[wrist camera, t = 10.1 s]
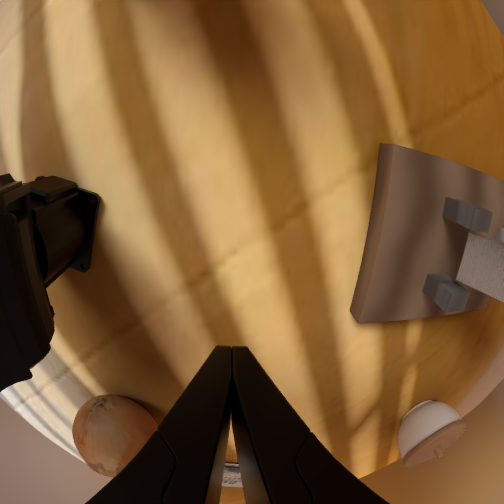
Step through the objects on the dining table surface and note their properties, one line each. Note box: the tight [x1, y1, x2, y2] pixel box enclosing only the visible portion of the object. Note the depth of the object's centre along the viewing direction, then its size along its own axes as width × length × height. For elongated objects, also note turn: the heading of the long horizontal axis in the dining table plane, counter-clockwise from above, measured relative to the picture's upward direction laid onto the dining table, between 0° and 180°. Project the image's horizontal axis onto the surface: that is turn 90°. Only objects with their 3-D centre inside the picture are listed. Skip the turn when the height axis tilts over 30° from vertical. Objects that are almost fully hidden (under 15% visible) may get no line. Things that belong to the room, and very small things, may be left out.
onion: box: [72, 395, 158, 477], centre depth 22 cm, size 10×10×10 cm
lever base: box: [350, 144, 504, 324], centre depth 18 cm, size 18×14×7 cm
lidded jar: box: [397, 400, 466, 467], centre depth 28 cm, size 11×11×9 cm
